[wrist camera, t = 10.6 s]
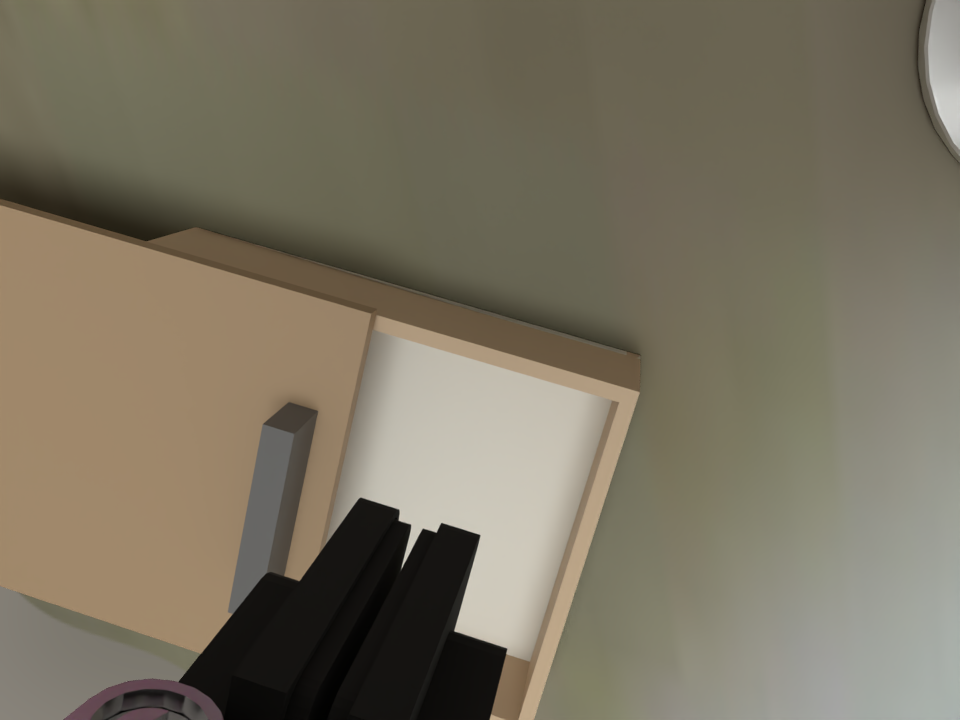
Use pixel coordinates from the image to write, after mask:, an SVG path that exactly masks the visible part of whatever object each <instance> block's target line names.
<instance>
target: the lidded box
mask: <svg viewBox="0 0 960 720" xmlns="http://www.w3.org/2000/svg"><path fill="white" fill-rule="evenodd" d="M147 242H150V243H153V244H157V245H160V246H164V247H167V248H171V249H174V250H177V251H181V252H184V253H188V254H191V255H194V256H198V257H201V258H205V259H208V260H212V261H215V262H218V263H222V264H225V265H229V266H232V267H236V268H239V269H242V270H246V271H249V272H253V273H256V274H259V275H263V276H266V277H270V278H273V279H277V280H280V281H283V282H287V283H290V284H294V285H297V286H301V287H304V288H307V289H311V290H314V291H318V292H321V293H325V294H328V295H331V296H335V297H338V298H342V299H345V300H348V301H352V302H355V303H359V304H362V305H366V306H369V307H372V308H376V309H377V313H376V317H375V322H374V326H373V331H372V336H371V340H370V345H369V349H368V354H367V358H366V363H365V367H364V372H363V376H362V381H361V386H360V390H359V395H358V399H357V404H356V408H355V413H354V417H353V422H352V426H351V431H350V436H349V440H348V445H347V449H346V454H345V458H344V463H343V467H342V472H341V476H340V481H339V486H338V490H337V495H336V499H335V504H334V508H333V513H332V517H331V522H330V527H329V531H328V536H327V540H326V543H327V542H328V541H329V539H330V538H331V536H332V535H333V534H334V532H335V531H336V530H337V528H338V527H339V525H340V524H341V523H342V521H343V520H344V518H345V517H346V516H347V514H348V513H349V511H350V510H351V509H352V507H353V506H354V504H355V503H356V502H357V500H358V499H359V498H364V499H367V500H371V501H374V502H377V503H380V504H383V505H387V506H390V507H393V508H396V509H399V510H400V515H399V521H401V522H405V523H408V524H411V532H410V536H409V540H408V544H407V548H406V552H405V556H404V560H403V564H402V567H403V565H404V563H405V561H406V559H407V558H408V556H409V554H410V552H411V550H412V548H413V546H414V544H415V542H416V540H417V538H418V536H419V534H420V533H421V531H422V529H427V530H430V531H433V532H436V533H437V530H438V528H439V526H440V525H441V523H444V524H447V525H450V526H454V527H457V528H460V529H463V530H466V531H470V532H473V533H476V534H479V535H480V540H479V544H478V548H477V552H476V555H475V559H474V562H473V566H472V569H471V573H470V577H469V580H468V584H467V587H466V591H465V594H464V598H463V602H462V605H461V609H460V612H459V616H458V619H457V623H456V627H455V630H454V631H455V632H458V633H461V634H464V635H467V636H470V637H474V638H477V639H480V640H483V641H486V642H489V643H492V644H495V645H498V646H501V647H504V648H507V653H506V658H505V662H504V666H503V669H502V673H501V677H500V681H499V685H498V689H497V693H496V697H495V701H494V705H493V709H492V713H491V717H490V720H534V717H535V714H536V711H537V708H538V705H539V702H540V699H541V696H542V693H543V690H544V686H545V683H546V680H547V677H548V674H549V671H550V668H551V665H552V662H553V659H554V656H555V652H556V649H557V646H558V643H559V640H560V637H561V634H562V631H563V628H564V625H565V622H566V619H567V615H568V612H569V609H570V606H571V603H572V600H573V597H574V594H575V591H576V588H577V585H578V581H579V578H580V575H581V572H582V569H583V566H584V563H585V560H586V557H587V554H588V551H589V548H590V544H591V541H592V538H593V535H594V532H595V529H596V526H597V523H598V520H599V517H600V514H601V510H602V507H603V504H604V501H605V498H606V495H607V492H608V489H609V486H610V483H611V480H612V476H613V473H614V470H615V467H616V464H617V461H618V458H619V455H620V452H621V449H622V446H623V443H624V439H625V436H626V433H627V430H628V427H629V424H630V421H631V418H632V415H633V412H634V409H635V405H636V402H637V399H638V396H639V393H640V367H641V355H637V354H634V353H631V352H627V351H624V350H620V349H617V348H613V347H610V346H606V345H603V344H599V343H596V342H593V341H589V340H586V339H582V338H579V337H575V336H572V335H568V334H565V333H561V332H558V331H554V330H551V329H548V328H544V327H541V326H537V325H534V324H530V323H527V322H523V321H520V320H516V319H513V318H509V317H506V316H503V315H499V314H496V313H492V312H489V311H485V310H482V309H478V308H475V307H471V306H468V305H465V304H461V303H458V302H454V301H451V300H447V299H444V298H440V297H437V296H433V295H430V294H426V293H423V292H420V291H416V290H413V289H409V288H406V287H402V286H399V285H395V284H392V283H388V282H385V281H381V280H378V279H375V278H371V277H368V276H364V275H361V274H357V273H354V272H350V271H347V270H343V269H340V268H337V267H333V266H330V265H326V264H323V263H319V262H316V261H312V260H309V259H305V258H302V257H298V256H295V255H292V254H288V253H285V252H281V251H278V250H274V249H271V248H267V247H264V246H260V245H257V244H253V243H250V242H247V241H243V240H240V239H236V238H233V237H229V236H226V235H222V234H219V233H215V232H212V231H209V230H205V229H202V228H198V227H194V228H191V229H187V230H184V231H181V232H177V233H174V234H170V235H167V236H163V237H160V238H157V239H153V240H150V241H147ZM401 569H402V568H401Z"/></svg>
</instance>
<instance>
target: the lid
mask: <svg viewBox="0 0 960 720" xmlns="http://www.w3.org/2000/svg"><path fill="white" fill-rule="evenodd" d="M376 313H377V309H376V308H372V307H369V306H366V305H362V304H359V303H355V302H352V301H348V300H345V299H342V298H338V297H335V296H331V295H328V294H325V293H321V292H318V291H314V290H311V289H307V288H304V287H301V286H297V285H294V284H290V283H287V282H283V281H280V280H277V279H273V278H270V277H266V276H263V275H259V274H256V273H253V272H249V271H246V270H242V269H239V268H236V267H232V266H229V265H225V264H222V263H218V262H215V261H212V260H208V259H205V258H201V257H198V256H194V255H191V254H188V253H184V252H181V251H177V250H174V249H171V248H167V247H164V246H160V245H157V244H153V243H150V242H147V241H143V240H140V239H136V238H133V237H129V236H126V235H123V234H119V233H116V232H112V231H109V230H106V229H102V228H99V227H95V226H92V225H88V224H85V223H82V222H78V221H75V220H71V219H68V218H64V217H61V216H58V215H54V214H51V213H47V212H44V211H40V210H37V209H34V208H30V207H27V206H23V205H20V204H17V203H13V202H10V201H6V200H3V199H0V586H2V587H5V588H7V589H10V590H13V591H17V592H19V593H22V594H25V595H28V596H31V597H34V598H37V599H40V600H43V601H46V602H49V603H52V604H55V605H58V606H61V607H64V608H67V609H70V610H73V611H76V612H79V613H82V614H85V615H88V616H91V617H94V618H97V619H100V620H103V621H106V622H109V623H112V624H115V625H118V626H121V627H124V628H127V629H130V630H133V631H136V632H139V633H142V634H144V635H147V636H150V637H153V638H156V639H159V640H162V641H165V642H168V643H171V644H174V645H177V646H180V647H183V648H186V649H189V650H192V651H195V652H198V653H202V652H203V651H204V649H205V648H206V647H207V646H208V644H209V643H210V642H211V641H212V639H213V638H214V637H215V636H216V634H217V633H218V632H219V631H220V629H221V628H222V627H223V626H224V624H225V623H226V622H227V621H228V619H229V618H230V617H231V616H232V614H233V613H234V612H235V611H236V609H237V608H238V607H239V606H240V604H241V603H242V602H243V601H244V599H245V598H246V597H247V596H248V594H249V593H250V592H251V591H252V589H253V588H254V587H255V586H256V584H257V583H258V582H259V581H260V579H261V578H262V577H263V576H264V575H265V574H266V573H268V572H273V573H276V574H279V575H282V576H285V577H289V578H292V579H295V580H298V581H300V580H301V578H302V577H303V576H304V574H305V573H306V571H307V570H308V569H309V567H310V566H311V564H312V563H313V562H314V560H315V559H316V557H317V556H318V555H319V553H320V552H321V550H322V549H323V548H324V546H325V545H326V540H327V536H328V531H329V527H330V522H331V517H332V513H333V508H334V504H335V499H336V495H337V490H338V486H339V481H340V476H341V472H342V467H343V463H344V458H345V454H346V449H347V445H348V440H349V436H350V431H351V426H352V422H353V417H354V413H355V408H356V404H357V399H358V395H359V390H360V386H361V381H362V376H363V372H364V367H365V363H366V358H367V354H368V349H369V345H370V340H371V336H372V331H373V326H374V322H375V317H376Z"/></svg>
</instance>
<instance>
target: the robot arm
mask: <svg viewBox="0 0 960 720" xmlns="http://www.w3.org/2000/svg"><path fill="white" fill-rule="evenodd" d="M918 69H919V75H920V82H921V88H922V94H923V99H924V102H925V104H926V107H927V110H928V112H929V115H930V117H931V120H932V123H933V125H934V128H935V130H936V131H937V133H938V134H939V136H940V137H941V139H942V140H943V142H944V143H945V145H946V146H947V148H948V149H949V151H950V152H951V154H952V155H953V156H954V157H955V158H956V159H957V160H958V161H959V162H960V0H926V4H925V8H924V12H923V17H922V21H921V25H920V30H919V50H918ZM399 515H400V510H399V509H396V508H393V507H390V506H387V505H383V504H380V503H377V502H374V501H371V500H367V499H364V498H359V499H358V500H357V502H356V503H355V504H354V506H353V507H352V509H351V510H350V511H349V513H348V514H347V516H346V517H345V518H344V520H343V521H342V523H341V524H340V525H339V527H338V528H337V530H336V531H335V532H334V534H333V535H332V536H331V538H330V539H329V541H328V542H327V543H326V545H325V546H324V548H323V549H322V550H321V552H320V553H319V555H318V556H317V557H316V559H315V560H314V562H313V563H312V564H311V566H310V567H309V569H308V570H307V571H306V573H305V574H304V576H303V577H302V578H301V580H300V581H298V580H295V579H292V578H289V577H285V576H282V575H279V574H276V573H273V572H268V573H266V574H265V575H264V576H263V577H262V578H261V579H260V581H259V582H258V583H257V584H256V586H255V587H254V588H253V589H252V591H251V592H250V593H249V594H248V596H247V597H246V598H245V599H244V601H243V602H242V603H241V604H240V606H239V607H238V608H237V609H236V611H235V612H234V613H233V614H232V616H231V617H230V618H229V619H228V621H227V622H226V623H225V624H224V626H223V627H222V628H221V629H220V631H219V632H218V633H217V634H216V636H215V637H214V638H213V639H212V641H211V642H210V643H209V644H208V646H207V647H206V648H205V649H204V651H203V652H202V653H201V654H200V656H199V657H198V658H197V659H196V661H195V662H194V663H193V664H192V666H191V667H190V668H189V669H188V671H187V672H186V673H185V674H184V676H183V677H182V678H181V679H180V681H179V682H175V681H170V680H160V679H144V680H133V681H128V682H124V683H121V684H118V685H115V686H112V687H109V688H106V689H105V690H103V691H101V692H100V693H98V694H97V695H95V696H93V697H92V698H90V699H89V700H87V701H86V702H85V703H84V704H82V705H81V706H80V707H79V708H77V709H76V710H75V711H74V712H72V713H71V714H70V715H69V716H67V717H66V718H65V719H64V720H490V717H491V713H492V709H493V705H494V701H495V697H496V693H497V689H498V685H499V681H500V677H501V673H502V669H503V666H504V662H505V658H506V653H507V648H504V647H501V646H498V645H495V644H492V643H489V642H486V641H483V640H480V639H477V638H474V637H470V636H467V635H464V634H461V633H458V632H455V631H454V630H455V627H456V623H457V619H458V616H459V612H460V609H461V605H462V602H463V598H464V594H465V591H466V587H467V584H468V580H469V577H470V573H471V569H472V566H473V562H474V559H475V555H476V552H477V548H478V544H479V540H480V535H479V534H476V533H473V532H470V531H466V530H463V529H460V528H457V527H454V526H450V525H447V524H444V523H441V525H440V526H439V528H438V530H437V533H436V532H433V531H430V530H427V529H422V531H421V533H420V534H419V536H418V538H417V540H416V542H415V544H414V546H413V548H412V550H411V552H410V554H409V556H408V558H407V559H406V561H405V563H404V565H403V567H402V564H403V560H404V556H405V552H406V548H407V544H408V540H409V536H410V532H411V524H408V523H405V522H401V521H399ZM401 568H402V569H401Z"/></svg>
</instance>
